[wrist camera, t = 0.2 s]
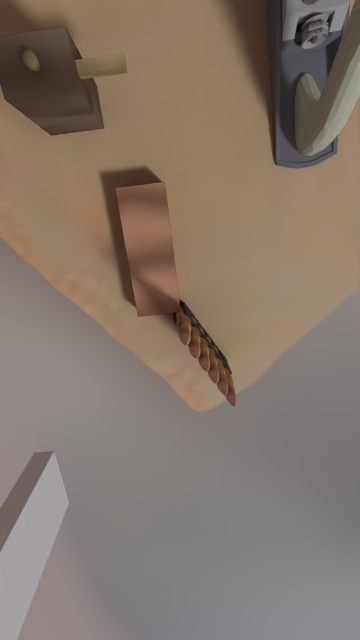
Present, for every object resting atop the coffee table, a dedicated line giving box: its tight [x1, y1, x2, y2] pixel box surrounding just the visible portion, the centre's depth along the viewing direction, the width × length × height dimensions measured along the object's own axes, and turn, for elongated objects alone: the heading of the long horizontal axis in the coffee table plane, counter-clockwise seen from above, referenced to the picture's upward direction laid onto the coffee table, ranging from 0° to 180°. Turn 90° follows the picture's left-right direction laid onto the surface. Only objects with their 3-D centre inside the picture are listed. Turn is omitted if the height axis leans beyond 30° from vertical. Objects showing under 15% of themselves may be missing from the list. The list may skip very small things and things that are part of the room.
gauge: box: [0, 27, 127, 135], centre depth 26 cm, size 4×10×10 cm, turn 97°
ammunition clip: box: [173, 302, 237, 407], centre depth 33 cm, size 11×2×12 cm, turn 36°
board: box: [115, 182, 180, 317], centre depth 34 cm, size 15×6×2 cm, turn 7°
